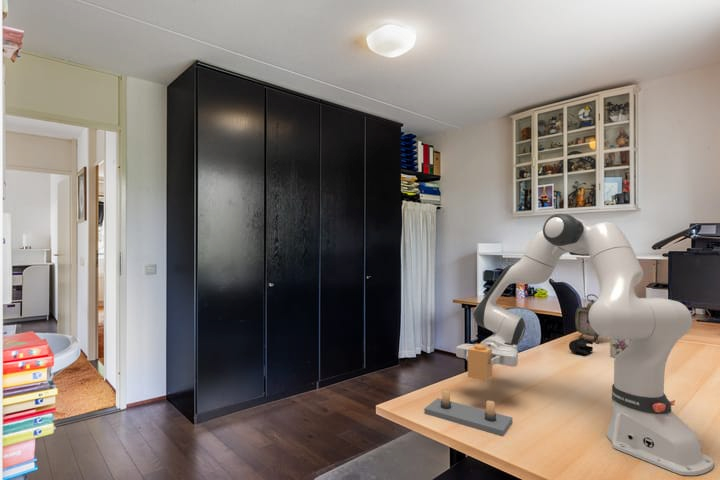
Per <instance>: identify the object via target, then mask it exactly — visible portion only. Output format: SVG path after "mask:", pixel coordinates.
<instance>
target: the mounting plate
mask: <svg viewBox="0 0 720 480" xmlns="http://www.w3.org/2000/svg"><path fill="white" fill-rule="evenodd" d="M450 399H451V391H450V390H449V389H442V390H441V398H440V397H437V398H436V399H434V400H433V401H432V402H431V403H429V404H428V405H427V406H426V407H424V412H423V413H424V414H426V415H430V416H432V417H435V418H440V419H444V420H445V421H449V422H454V423H458V424H460V425H463V426H466V427H470V428H474V429H477V430H481V431H484V432H488V433H491V434H495V435H497V436H502V437H504V435H505V434H506V433H507V431H508V429H509V428H510V426H512V424H513V417H512V416H509V415H506V414H501V413H497V412H496V407H495V406H496V403H495V401H493V400H486V402H485V405H486V407H485V408H486V409H481V408H478V407H476V406H470V405H466V404H464V403H463V404H462V403H460V402H459V403H458V402H455V401H451V400H450Z"/></svg>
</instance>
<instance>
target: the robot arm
mask: <svg viewBox="0 0 720 480" xmlns="http://www.w3.org/2000/svg"><path fill="white" fill-rule="evenodd" d="M523 253H524V254H523V256H522V257H521V258H520V259H519V260H518V261H517V262H515V264H509V265H508V266H506V267H505V269H504V270H503V271H502V272H501V273H500V274H499V276H498V277H497V279H496V280H495V281H494V283H493V285H492V286H491V287H490V288H489V290H488V292H487V293H486V294H485V295H484V297H483V298H482V300H480V302H479V303H478V304H477V305H476V307H475V309H474V311H473V314H472V315H473V319H474V321H475V323H476V325H478V326H479V327H482V328H484V329H487V330H489V331H490V332H493V333H494V334H492V335H490V336H488V337H487V338H485V339H483V340H481V342H480V343H479V344H484V345H486V347H488V348H492V358H489V359H488V361H489V362H488V364H491V365H492V366H494V365H501V366H506V367H507V366H508V367H517V366H518V359H519V358H518V357H519V352H518V351H519V350H518V345H519V343H520V342H521V341H522V339H523V337H524V336H525V332H526V329H527V328H526V322H525V320H524V318H523V317H522V316H520V315H518V314H516V313H514V312H512V311H510V310H507V309H506V308H504V307H502V306H500V305H499V304H497V301H498V300H499V298H500V297H501V296H502V294H503V293H504V291H505V290H506V288H508V286H509V285H511V284H512V285H513V284H525V285H540V284H542V283H545V282H547V281H548V280H549V278H550V277H551V276H552V274H553V272H554V270H555V268H556V266H557V265H558V261H559V260H560V258H561V257H562V256H563V255H565V254H567V253H569V255H571V256H582V257H589V258H590V261H591V263H592V266H593V268H594V271H595V275H596V278H597V281H598V285H599V292H598V296H597V297H598V299H597V298H596V300H595V301H596V302H593V303H594V304H593V305H592V306H591V308H590V310H589V322H590V325H591V327H592V329H593V330H594V331H595V332H596V333H597V334H598V335H600V336H599V337H605V338H608V339H609V338H614V339H631V342H630V343H629V345H628V346H627V347H626V349H624V350H623V351H621V352H620V353H618V354H617V356H616V357H615V358H614V361H613V384H612V385H611V401H612V408H611V410H612V411H611V417H610V421H609V425H608V428H607V430H606V433H605V434H606V437H607V438H608V439H609V440H610V442H611V447H612V448H613V449H615V450H618V451H620V452H622V453H625V454H627V455H630V456H632V457H635V458H638V459H639V460H643V461H645V462H648V463H650V464H652V465H655V466H656V467H657V466H658V467H660V468H662V469H664V470H668V471H670V472H672V473H675V474H678V475H681V476H698V475H703V474H705V473H708V472H709V471H711V470H712V469H713V468H714V459H713V458H712V457H711V456H709V455H707V454H705V453H703V452H702V446H701V442H700V439H699V436H698V435H697V434H696V432H695V431H693V430H692V429H691V428H690V427H689V426H688V425H686V424H685V422H684V421H682V419H681V418H679V417H678V416H677V415H676V414H675V413H674V412H673V411H672V406H675V405H676V403H675V402H676V400H675V399H674V400H673V399H672V400H669V399H668V397H667V396H666V394H665V392H664V391H665V373H666V372H665V371H666V365H667V362H668V358H669V356H670V354H671V352H672V350H673V348H674V347H675V345H676V343H677V342H678V341H679V340H680V339H681V338H683V337H684V336H685V335H687V334H688V333H689V331H690V330H691V328H692V325H693V318H692V313H691V312H690V310H689V309H688V307H687V305H685V304H683V303H682V302H680V301H677V300H673V299H668V298H663V297H638V296H637V294H636V292H635V287H636V286H638V284H640V283H641V281H642V280H643V277H644V270H643V268H642V266H641V264H640V261H639V260H638V258H637V256H636V252H635V251H634V249H633V247H632V245H631V243H630V241H629V240H628V238H627V237H626V235H625V234H624V232H623V231H622V230H621V228H620V227H619V226H618V225H617V224H615V223H613V222H610V221H609V222H608V221H603V222H598V223H596V224H591V223H589V222H587V221H586V220H584V219H581V218H578V217H575V216H572V215H571V214H568V213H567V214H566V213H556V214H553V215H551V216H549V217H548V218H547V219H546V221H544V225H543V227H542V230H540V231H538V232H537V233H536V234H535V235H534V237H533V238H532V239H531V241H530V242H529V243H528V246H527V248H526V250H525V251H524V252H523ZM474 344H475V343H474ZM474 344H471V343H462V344H459V345H457V346H456V347H455V355H456V357H457V358H461V359H465V360H466V361H468V349H469V348H471V347H472V346H474Z"/></svg>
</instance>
